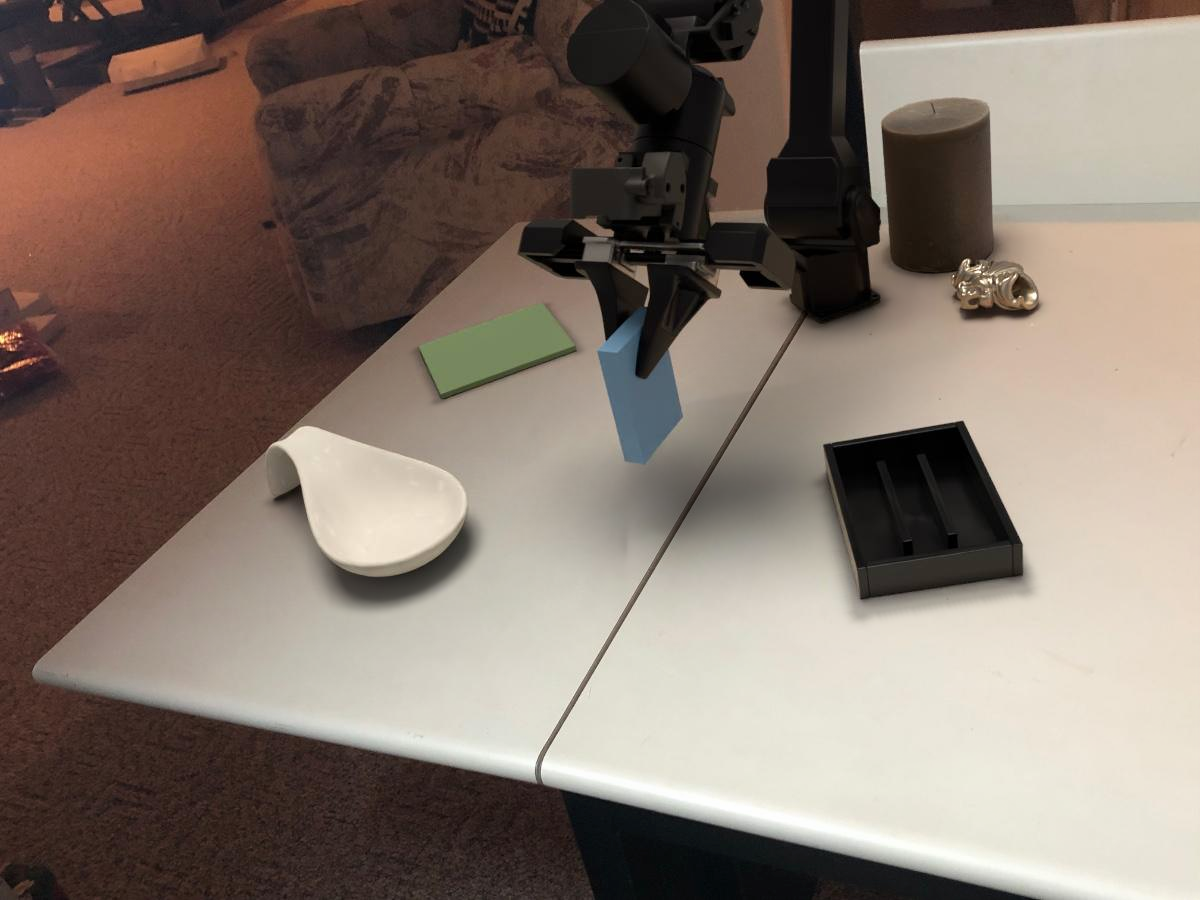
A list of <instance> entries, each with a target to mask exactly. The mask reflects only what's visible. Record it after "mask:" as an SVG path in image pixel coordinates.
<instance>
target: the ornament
mask: <svg viewBox="0 0 1200 900" xmlns="http://www.w3.org/2000/svg"><path fill="white" fill-rule="evenodd" d="M970 264H971V260H970V259H965V260H963V261H962V263H961V265H960V267H959V269H957V271H956V273H955V274H952V275H951V276H950V279H951V287H952V288H953V289H955V290H956V296H957V298H958V299H960V305H961V308H962V309H964V310H976V309H978V308H979V306H981V307H983V308H985V309H988V308H992V307H993V305H994V304H995V305H996V306H997V307H999V308H1001V309H1002V310H1005V311H1020V310H1027V311H1028V310H1033V309H1035V308H1036V307H1037V304H1038V302H1039V298H1040V294H1039V289H1038V288H1037V285H1036V283H1035V282H1034V279H1032V277H1031V276H1029V275H1028V274H1027V273H1026V272H1024V267H1023V265H1021V264H1020V263H1017V262H1014V261H1010V260H1007V259H1004V260H995V259H994V260H991V261H987V260H985V259H980V260H976V261H975V264H974V265H973V266H971V265H970ZM1015 295H1016V296H1017V295H1018V297H1017V298H1016V297H1014V296H1015Z"/></svg>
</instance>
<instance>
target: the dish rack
mask: <svg viewBox="0 0 1200 900" xmlns="http://www.w3.org/2000/svg"><path fill="white" fill-rule="evenodd" d="M966 425H967V424H965V421H964V420H957V421H952V422H947V423H941V424H936V425H929V426H923V427H917V428H910V429H905V430H899V431H893V432H888V433H882V434H876V435H870V436H863V437H858V438H852V439H846V440H841V441H833V442H828V443H823V444H822V448H823V456H824V464H825V470H826V471H825V472H826V475H827V479H828V484H829V486H830V490H831V494H832V498H833V502H834V506H835V509H836V513H837V517H838V520H839V524H840V529H841V532H842V535H843V539H844V543H845V546H846V550H847V554H848V558H849V562H850V566H851V569H852V572H853V577H854V580H855V584H856V588H857V592H858V595H859V600H867V599H868V600H869V599H873V598H881V597H887V596H893V595H894V596H895V595H900V594H907V593H914V592H922V591H928V590H934V589H941V588H948V587H954V586H961V585H968V584H976V583H981V582H988V581H995V580H1001V579H1008V578H1015V577H1022V576H1024V544H1023V541H1022V540H1021V537H1020V535H1019V532H1018V530H1017V529H1016V527H1015V525H1014V523H1013V521H1012V519H1011V516H1010V514H1009V512H1008V510H1007V508H1006V506H1005V504H1004V502H1003V500H1002V497H1001V495H1000V494H999V492H998V489H997V488H996V486H995V483H994V481H993V479H992V477H991V475H990V473H989V470H988V468H987V467H986V465H985V463H984V460H983V458H982V456H981V455H980V452H979V449H978V447H977V445H976V444H975V441H974V439H973V437H972V436H971V434H970V431H969V429H968V427H967V426H966Z"/></svg>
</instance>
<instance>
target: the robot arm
mask: <svg viewBox="0 0 1200 900" xmlns="http://www.w3.org/2000/svg"><path fill="white" fill-rule="evenodd" d="M849 1H850V0H791V9H790V10H791V13H790V14H791V17H790V59H789V60H790V63H789V64H790V65H789V111H788V114H789V116H788V138H787V140H786V142H785V143H784V145H783V146H782V148H781V150H780V152H779V153H778V155H777V156H776V157H771V158H770V159H769V161H768V163H767V166H766V169H765V170H766V192H765V196H764V200H763V216H764V220H765V223H764V222H733V221H731V222H730V221H729V222H726V221H725V222H724V221H722V222H721V221H715V222H714V223H713V224H711V228H710V229H709V230H708V231H707V234H706V237H705V238H703V237H702V236H701V235H699V233H700V228H701V223H702V218H703V213H704V208H705V202H706V198H707V199H708V198H709V199H710V198H712V199H713V198H717V192H718V189H719V183H718V182H717V181H716V180H715V179H714V178H713V177H712V176H711V175H712V172H713V167H714V162H715V155H716V152H717V151H716V150H717V145H718V140H719V134H720V129H721V124H722V121H723V118H724V117H725V118H726V117H734V116H735V115H736V113H737V112H736V111H737V110H736V104H735V100H734V98H733V97H732V95H731V94H730V92H728V90H727V86H726V84H725V80H724V77H722V76H719V77H718V76H717V77H716V75H714V74H713V73H712V72H711V71H710V70H709V69H707V68H706V67H704V66H701V65H702V64H714V63H715V64H716V63H729V62H731V63H733V62H737V61H742V60H743V59H745V57H746V56H747V55H748V53H749V52H750V50H751V49H752V46H753V44H754V41H755V40H756V38H757V36H758V34H759V30H760V24H761V19H762V15H763V13H764V5H763V3H762V0H604V1H603V2H601V3H599V4H598V5H596V6H595V7H594V8H592V9H591V10H590V11H589V12H588V13H586V15H585V16H584V17H582V18H581V21H580V22H579V23H578V25H576V28H575V30H574V32H573V33H572V34H570V36H569V38H568V41H567V45H566V54H565V55H566V62H567V67H568V69H569V71H570V74H571V75H572V76H573V77H574V78H575V80H576V81H578V83H580V85H582V86H583V87H584V88H585V89H587V91H589V92H590V93H591V94H592V95H594V97H596V98H597V99H598V100H599V101H600V102H602V103H603V104H604V105H605V106H606V107H607V108H608V109H609V110H610V111H612V113H614V114H615V115H616V116H617V117H618V118H620V119H621V120H623V121H624V122H626V123H627V124H633V125H635V126H634V132H633V136H632V141H631V147H630V151H619V152H618V155H617V156H616V157H615V159H614V163H613V166H612V167H611V166H610V167H607V166H605V167H602V166H601V167H600V166H599V167H598V166H597V167H570V168H569V219H566V218H565V219H563V218H533V219H532V220H531V221H530V222H529V223H527V224H526V225H524V227H523V229H522V231H521V235H520V240H519V245H518V250H517V255H518V256H519V257H521V258H523V259H525V260H526V261H528V262H530V263H531V264H533V265H535V266H537V267H538V268H540V269H542V270H544V271H546V272H547V273H550V274H551V275H553V276H555V277H558V278H561V279H565V280H578V281H579V280H580V281H589V282H590V283H591V285H592V287H593V289H594V291H595V294H596V296H597V300H598V304H599V308H600V313H601V317H602V318H601V319H602V325H603V332H604V338H605V342H606V341H607V340H608V339H609V338H610V337H611V336H612V335H613V334H614V333H615V332H616V330H617V329H618V328H619V327H620V326H621V325H622V324H623V323H624V322H625V321H626V320H627V319H628V318H629V317H630V316H631V315H632V314H633V313H634V312H635V311H636V310H637V309H638V308H639V307H640V306H646V301H647V299H648V302H647V306H646V307H647V310H646V315H645V319H644V324H643V329H642V333H641V338H640V342H639V347H638V351H637V360H636V369H635V375H636V377H638V378H640V379H647V378H648V377H649V375H650V374H651V372H652V371H653V370H654V368H655V367H656V365H657V364H658V363H659V361H660V360H661V358H662V357H663V356H664V354H665V353H666V351H667V350H668V349H669V350H670V347H671V346H672V344H673V343H674V342H675V340H676V339H677V338H678V336H679V335H680V334H681V332H682V331H683V330H684V328H685V327H686V326H687V325H688V324H689V323H690V322H691V320H692V319H693V318H694V317H695V316H696V315H697V314H698V313H699V311H700V310H701V309H702V308H703V307H704V306H705V305H706V303H707V302H708V301H709V300H711V299H714V300H717V299H720V298H721V296H722V289H720V288H719V287H718V283H719V278H720V275H721V274H720V273H721V270H724V271H725V270H727V271H729V270H730V271H739V273H738V275H739V276H740V278H741V279H742V281H743V282H744V283H745V285H746V286H747V287H748V288H749V289H750V290H767V291H789V290H790V292H791V293H789V295H788V296H789V300H790V302H792V303H793V304H794V305H796V306H797V307H798V308H800V309H801V310H802V311H804V312H805V313H806V314H807V315H809V316H810V317H811V318H813V319H814V320H815V321H816V322H819V323H824V322H827V321H830V320H833V319H835V318H838V317H841V316H843V315H847V314H849V313H852V312H855V311H857V310H860V309H863V308H865V307H868V306H870V305H871V306H872V305H873V304H876V303H878V302H880V301H881V295H880V293H878V292H877V291H875V290H873V289H872V285H871V273H870V264H869V252H868V248H871V247H873V246H876V245H879V243H880V242H881V236H880V235H881V234H880V232H881V231H880V230H881V225H882V220H881V206H879V205H878V203H876V201H875V200H874V199H873V197H872V196H871V195H870V194H869V193H868V191H867V190H866V189H865V188H864V187H863V167H862V164H861V163H860V161H859V159H858V157H857V155H856V154H855V152H854V150H853V149H852V147H851V145H850V143H849V142H848V140H847V138H846V134H845V132H846V131H845V130H846V129H845V126H846V125H845V124H846V96H847V94H846V93H847V69H848V68H847V66H848V37H849V8H850V7H849V5H850V4H849V3H850V2H849ZM587 217H596V220H595V224H596V225H598V226H599V227H601V228H602V229H604V230H610V231H612V232H613V235H612V236H603V235H597V234H596V233H595V232H593V231H592V230H590V229H589V228H587V227H585V226H584V225H583V224H581V223H579V222H578V221H576V220H585V219H586V218H587ZM631 251H633V252H631ZM634 251H635V252H634ZM637 267H646V271H647V279H648V280H647V281H648V287H647V286H646V285H644V284H643V283H641V282H640V281H638V280H636V278H635V277H636V273H637ZM648 294H649V296H648ZM648 297H649V298H648Z"/></svg>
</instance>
